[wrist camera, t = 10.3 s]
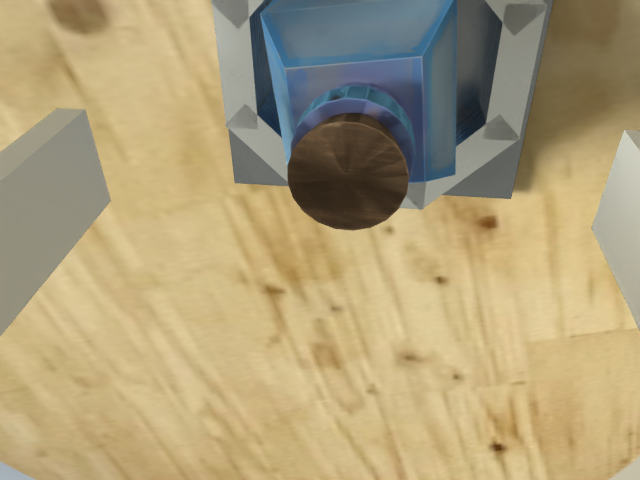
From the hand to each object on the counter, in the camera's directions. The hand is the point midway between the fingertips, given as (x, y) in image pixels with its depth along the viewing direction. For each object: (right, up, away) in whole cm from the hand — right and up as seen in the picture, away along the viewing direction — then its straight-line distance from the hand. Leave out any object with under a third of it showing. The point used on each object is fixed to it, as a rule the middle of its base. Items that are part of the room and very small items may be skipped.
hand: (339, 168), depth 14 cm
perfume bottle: (+2, +7, +10) cm, 12 cm away
